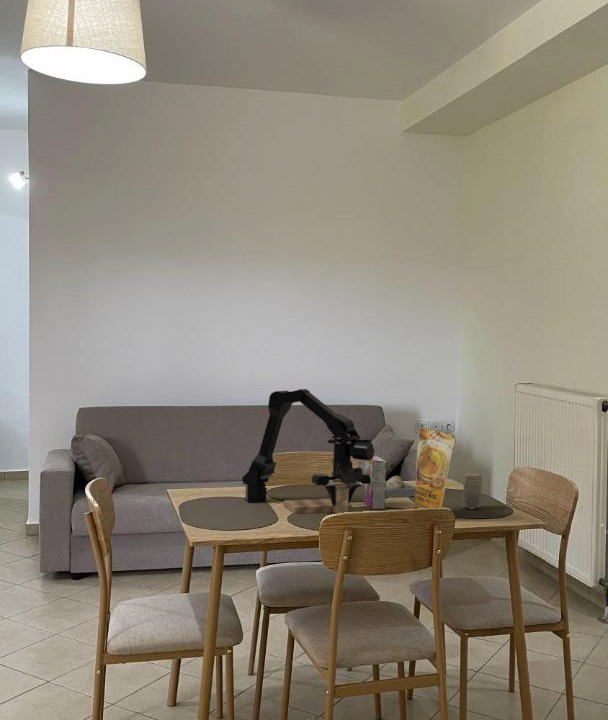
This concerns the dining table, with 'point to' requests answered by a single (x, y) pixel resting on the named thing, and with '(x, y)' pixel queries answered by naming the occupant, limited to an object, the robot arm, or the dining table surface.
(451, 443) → the pancake mix bag
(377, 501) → the candy bar box
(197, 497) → the dining table surface
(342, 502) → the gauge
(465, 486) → the carving
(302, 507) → the board
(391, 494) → the mug coaster tray
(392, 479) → the beige rock
